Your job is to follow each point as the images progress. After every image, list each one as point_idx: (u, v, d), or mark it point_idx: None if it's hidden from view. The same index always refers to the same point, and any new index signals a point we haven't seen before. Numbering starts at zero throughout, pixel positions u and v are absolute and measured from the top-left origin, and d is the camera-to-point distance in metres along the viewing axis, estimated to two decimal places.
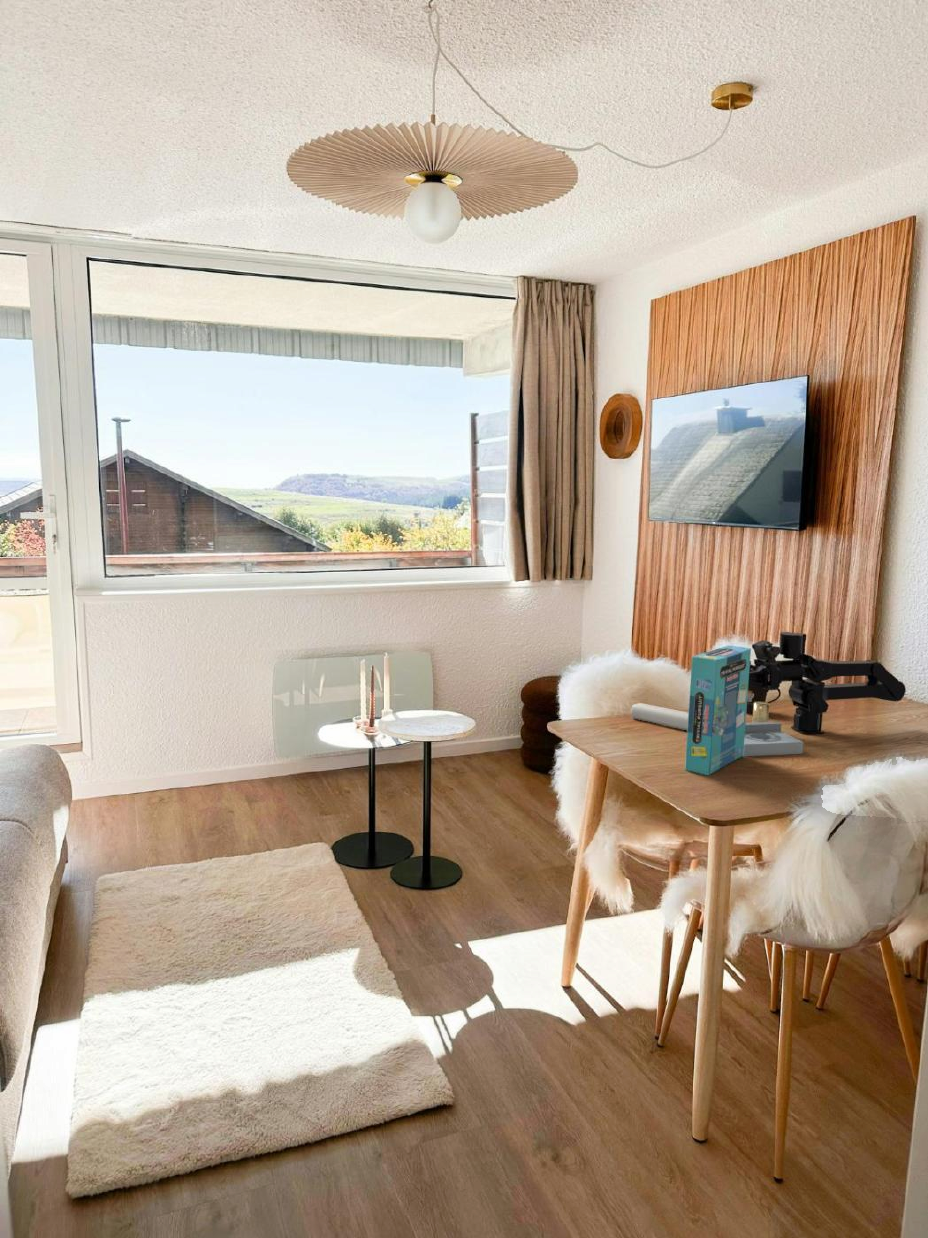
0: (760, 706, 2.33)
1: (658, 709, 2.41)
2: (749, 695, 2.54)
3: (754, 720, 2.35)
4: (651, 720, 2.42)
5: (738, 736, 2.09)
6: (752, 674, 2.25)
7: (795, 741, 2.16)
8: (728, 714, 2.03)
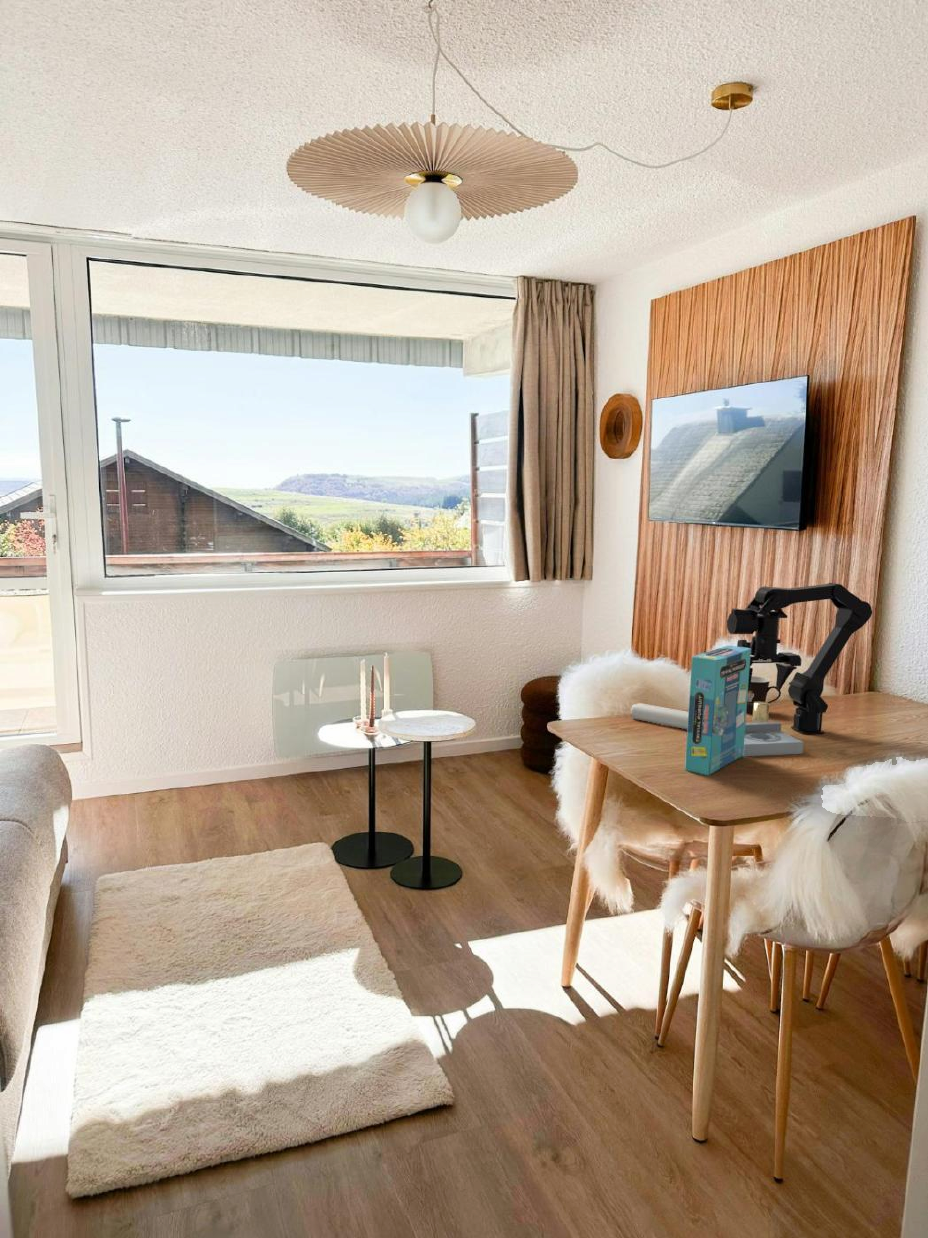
0: (760, 706, 2.33)
1: (659, 709, 2.41)
2: (749, 695, 2.54)
3: (754, 720, 2.35)
4: (652, 720, 2.42)
5: (738, 736, 2.09)
6: None
7: (795, 741, 2.16)
8: (728, 714, 2.03)
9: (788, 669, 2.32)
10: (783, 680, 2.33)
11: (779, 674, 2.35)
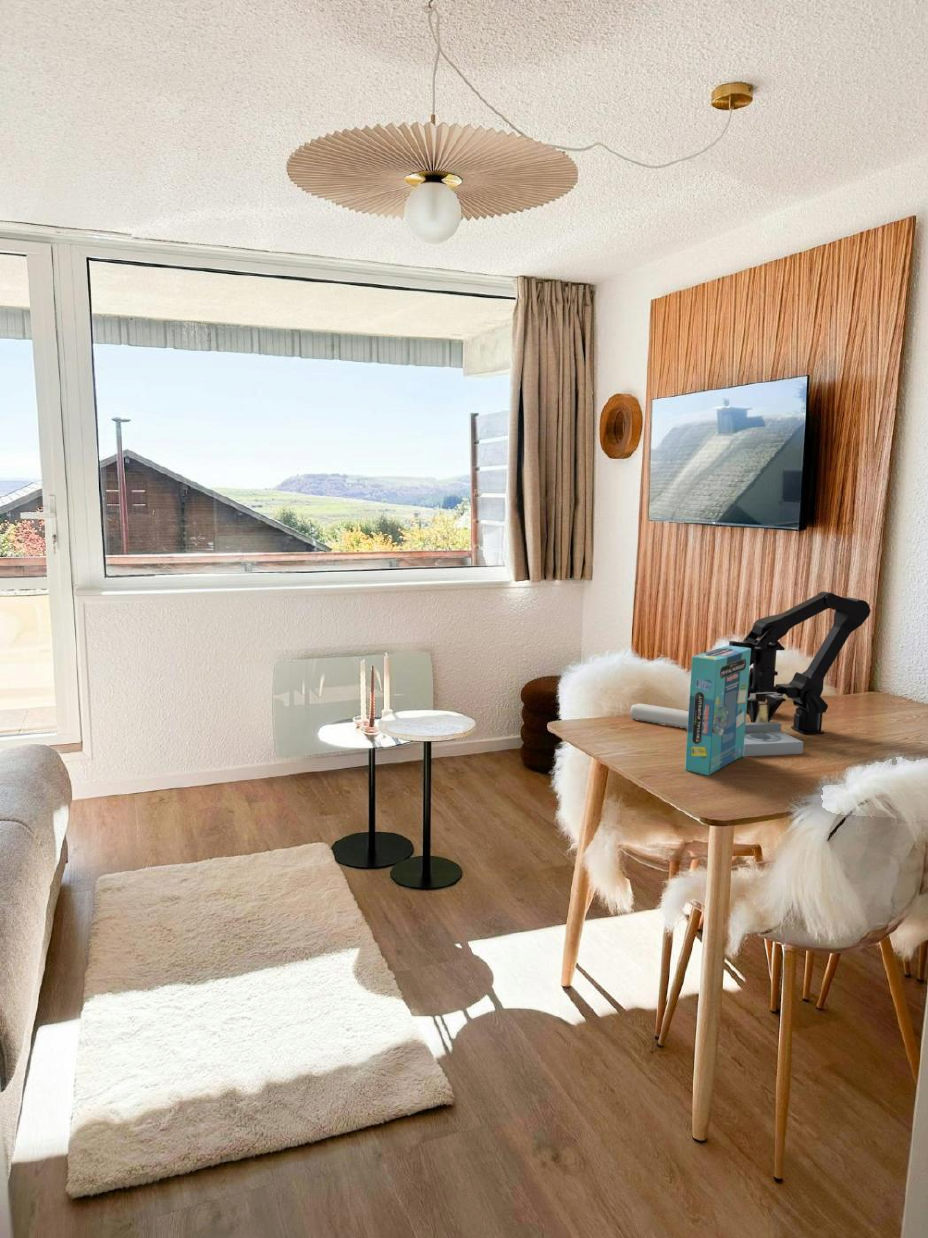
0: (760, 706, 2.33)
1: (660, 709, 2.41)
2: None
3: None
4: (653, 720, 2.42)
5: (738, 736, 2.09)
6: (747, 708, 2.35)
7: (795, 741, 2.16)
8: (728, 714, 2.03)
9: (777, 701, 2.32)
10: (772, 712, 2.34)
11: None
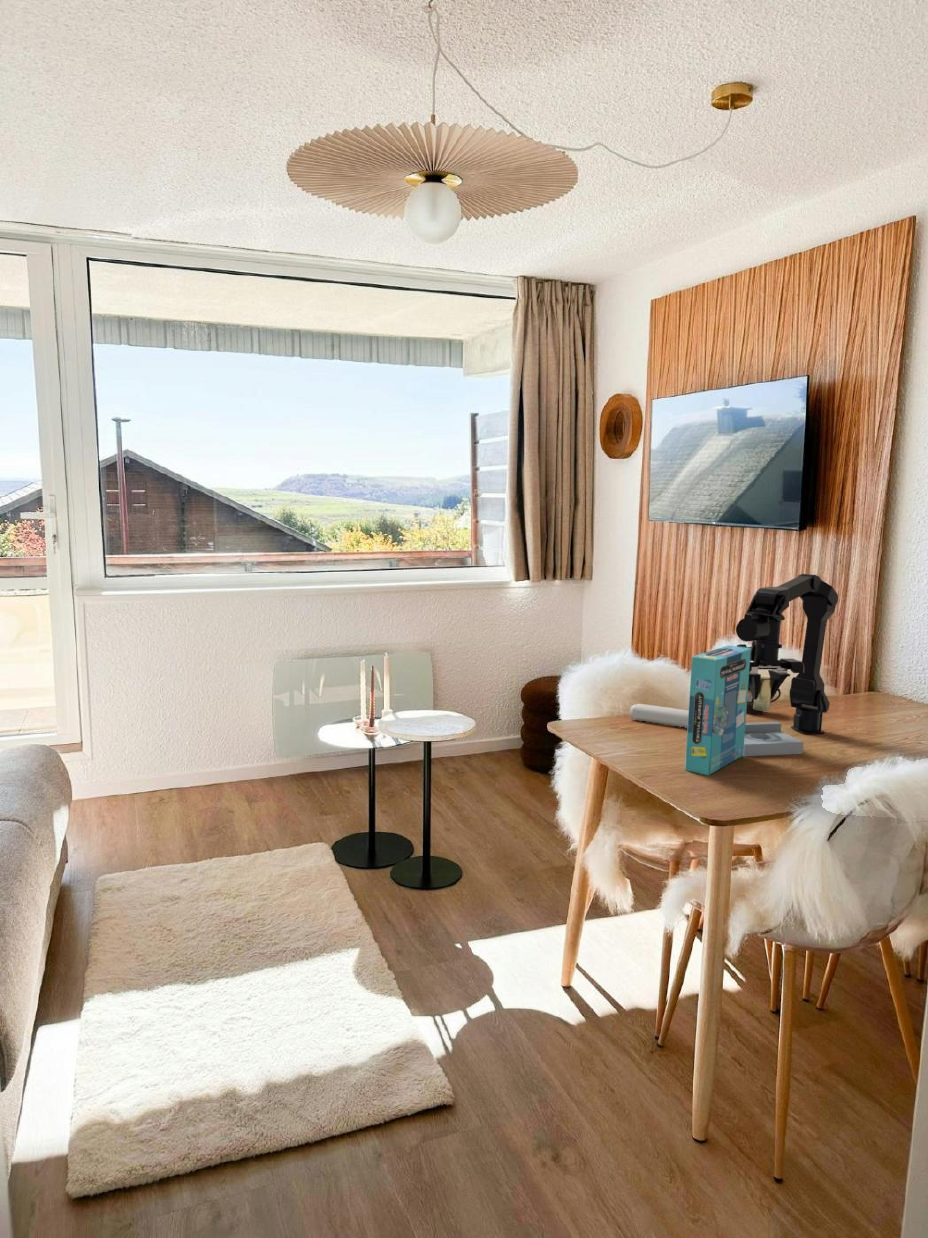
0: (762, 681, 2.18)
1: (660, 709, 2.41)
2: (749, 695, 2.54)
3: None
4: (653, 720, 2.42)
5: (738, 736, 2.09)
6: (749, 683, 2.20)
7: (795, 741, 2.16)
8: (728, 714, 2.03)
9: (781, 676, 2.17)
10: (776, 688, 2.18)
11: (772, 681, 2.20)
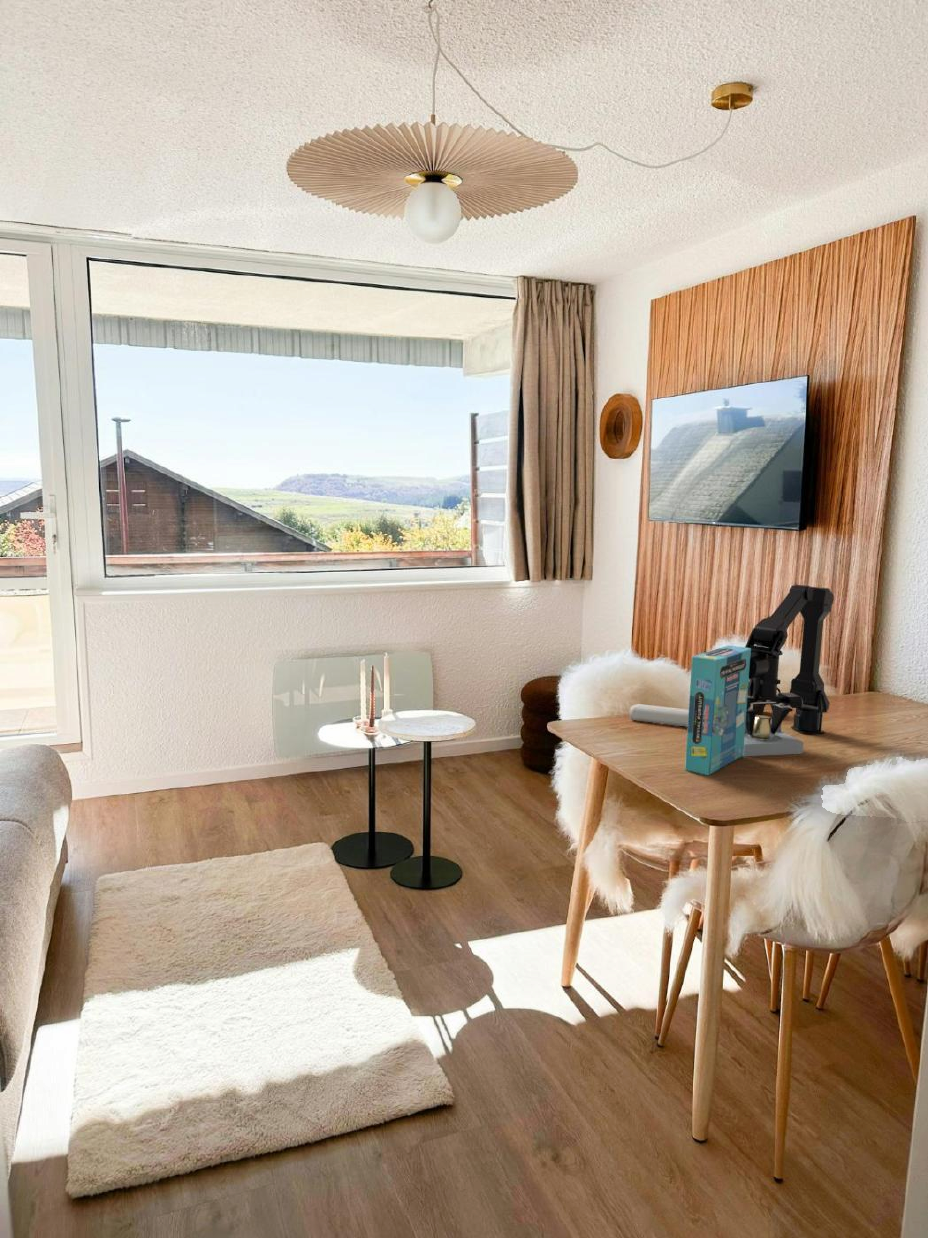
0: (761, 720, 2.18)
1: (661, 709, 2.41)
2: None
3: (755, 735, 2.20)
4: (654, 720, 2.42)
5: (738, 736, 2.09)
6: None
7: (795, 741, 2.16)
8: (728, 714, 2.03)
9: (784, 711, 2.17)
10: (778, 723, 2.19)
11: (774, 716, 2.20)
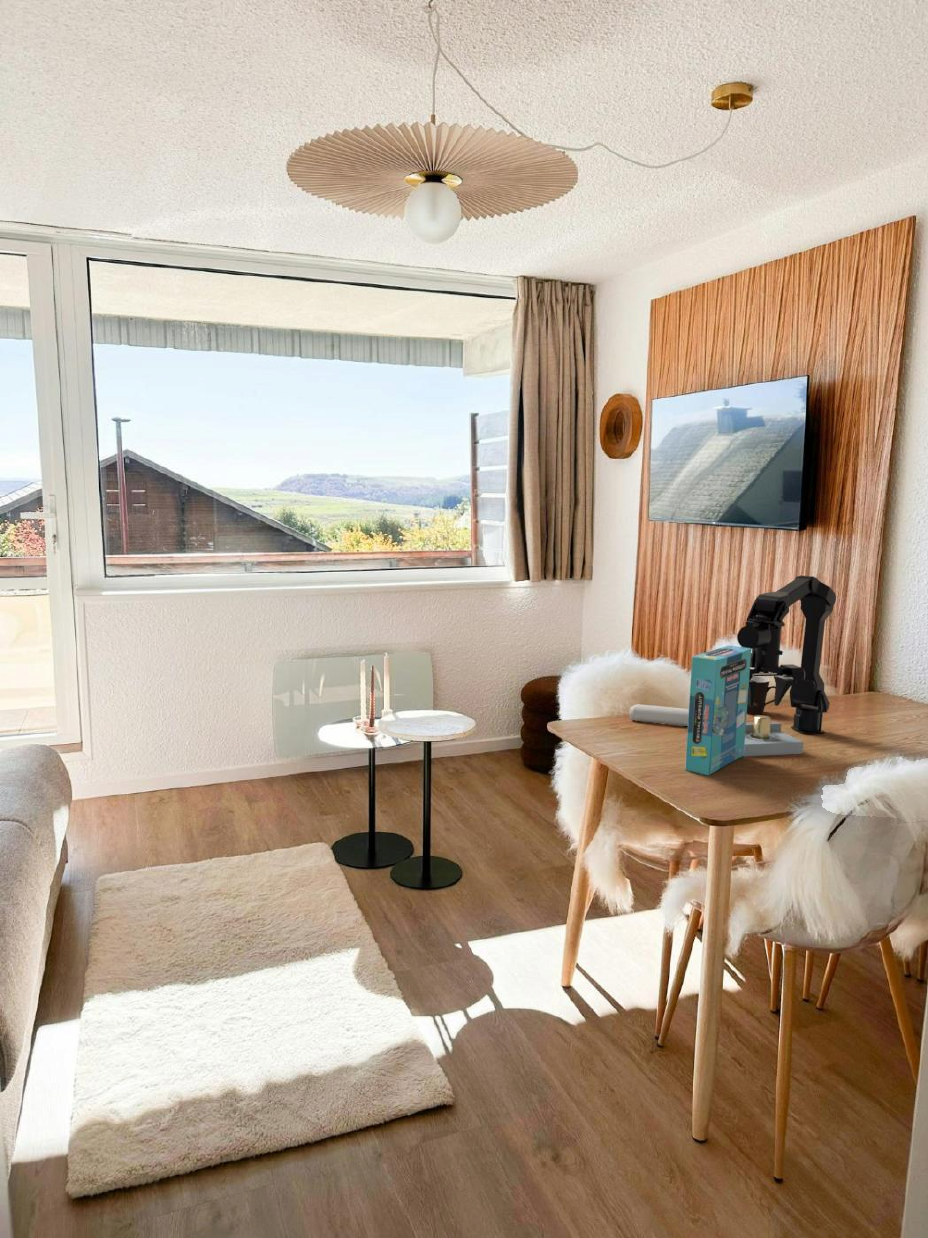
0: (761, 720, 2.18)
1: (662, 709, 2.41)
2: None
3: (755, 735, 2.20)
4: (655, 720, 2.42)
5: (739, 736, 2.09)
6: None
7: (795, 741, 2.16)
8: (728, 714, 2.03)
9: (787, 683, 2.16)
10: (782, 694, 2.18)
11: (777, 688, 2.19)
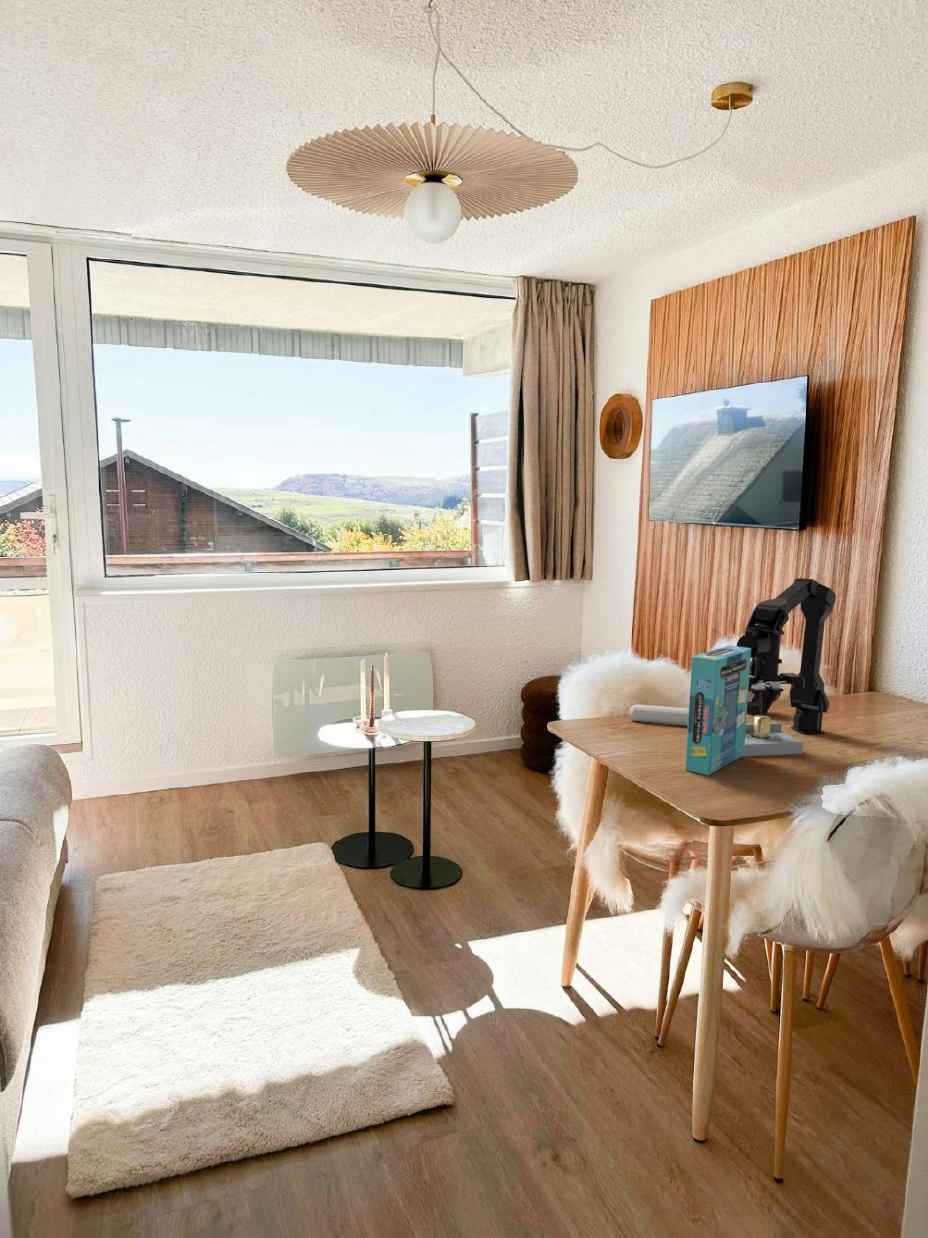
0: (761, 720, 2.18)
1: (662, 709, 2.42)
2: (749, 695, 2.54)
3: (755, 735, 2.20)
4: (656, 720, 2.42)
5: (739, 736, 2.09)
6: (757, 698, 2.19)
7: (795, 741, 2.16)
8: (728, 714, 2.03)
9: (774, 691, 2.16)
10: (769, 703, 2.17)
11: None
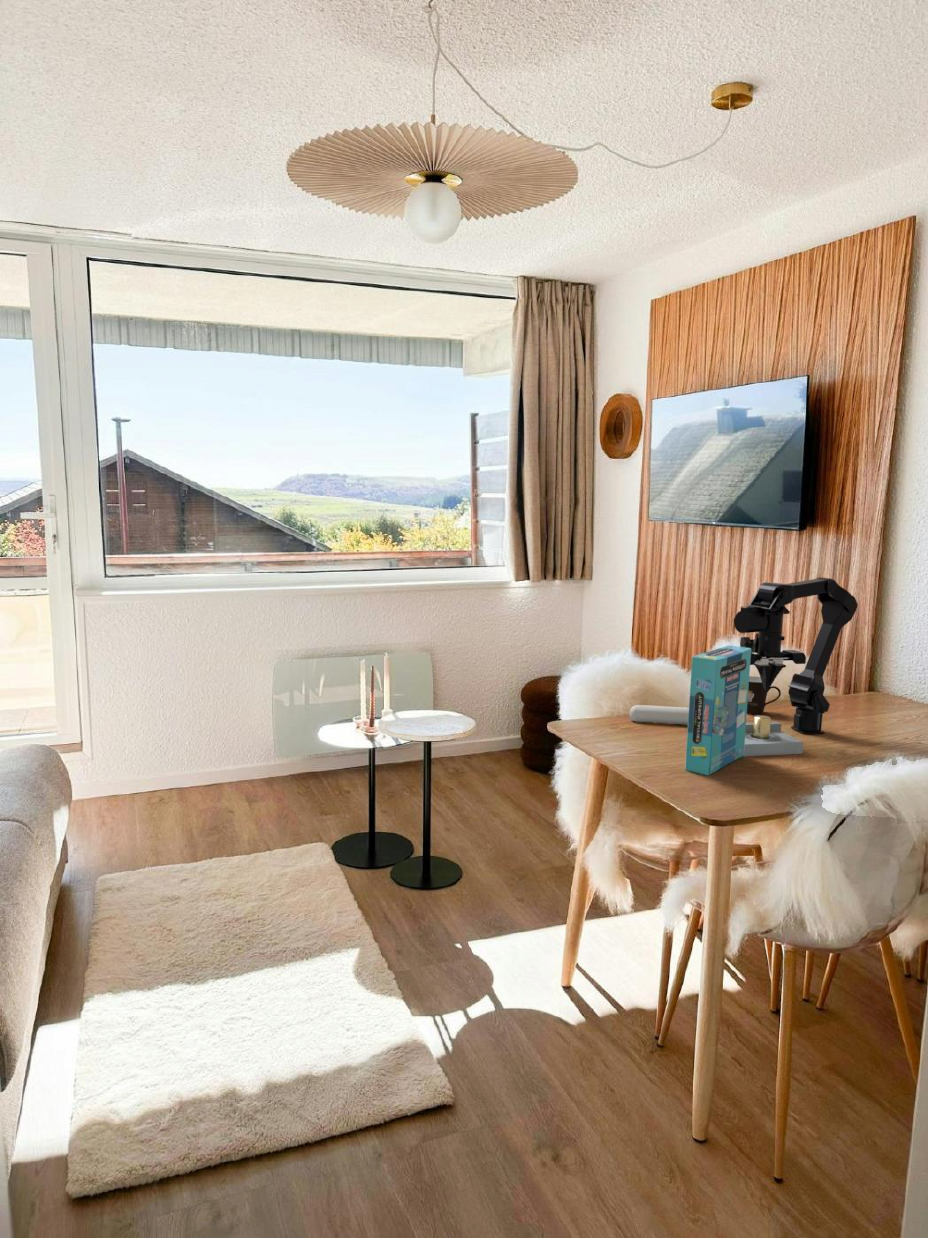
0: (761, 720, 2.18)
1: (663, 708, 2.42)
2: (749, 695, 2.54)
3: (755, 735, 2.20)
4: (657, 720, 2.42)
5: (739, 736, 2.09)
6: (760, 674, 2.29)
7: (795, 741, 2.16)
8: (728, 714, 2.03)
9: (777, 667, 2.25)
10: (772, 679, 2.27)
11: None
